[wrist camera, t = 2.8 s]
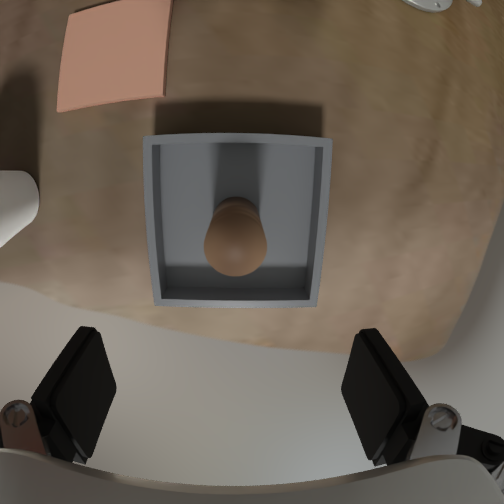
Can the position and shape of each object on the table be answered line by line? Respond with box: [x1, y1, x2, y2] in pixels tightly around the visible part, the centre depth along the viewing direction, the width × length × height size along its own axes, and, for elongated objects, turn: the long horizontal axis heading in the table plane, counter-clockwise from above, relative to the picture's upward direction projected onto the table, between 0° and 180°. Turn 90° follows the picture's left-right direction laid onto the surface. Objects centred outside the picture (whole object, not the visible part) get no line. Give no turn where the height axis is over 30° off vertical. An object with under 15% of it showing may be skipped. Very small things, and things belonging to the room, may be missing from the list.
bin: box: [143, 133, 333, 308], centre depth 27 cm, size 16×16×4 cm
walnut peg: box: [204, 197, 267, 276], centre depth 24 cm, size 4×4×8 cm
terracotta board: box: [57, 0, 173, 112], centre depth 21 cm, size 12×12×1 cm
